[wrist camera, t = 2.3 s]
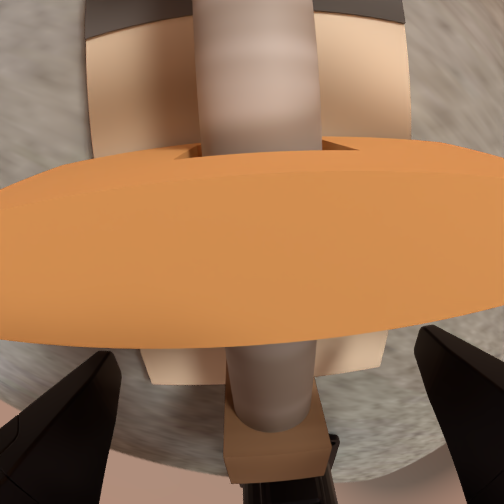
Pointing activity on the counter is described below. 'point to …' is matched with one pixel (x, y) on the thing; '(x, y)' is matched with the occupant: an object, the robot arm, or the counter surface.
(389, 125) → the rod board
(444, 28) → the counter surface
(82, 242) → the collar
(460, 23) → the counter surface
